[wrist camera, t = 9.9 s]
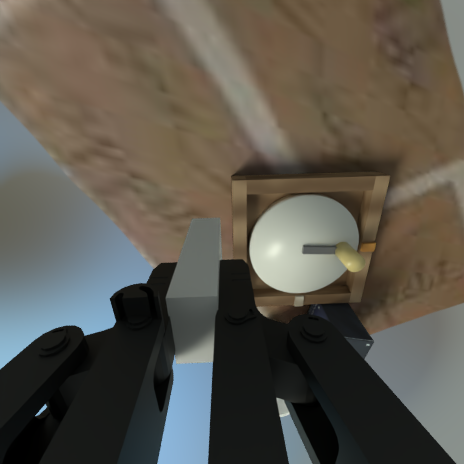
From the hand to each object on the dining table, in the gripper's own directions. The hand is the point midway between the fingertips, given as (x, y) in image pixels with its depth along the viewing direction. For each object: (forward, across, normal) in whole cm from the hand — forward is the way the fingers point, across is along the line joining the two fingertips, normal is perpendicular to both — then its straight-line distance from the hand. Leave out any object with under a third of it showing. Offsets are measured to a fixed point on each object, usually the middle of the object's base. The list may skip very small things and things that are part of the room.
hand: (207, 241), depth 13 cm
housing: (+24, +13, -12) cm, 30 cm away
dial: (+23, +13, -12) cm, 29 cm away
